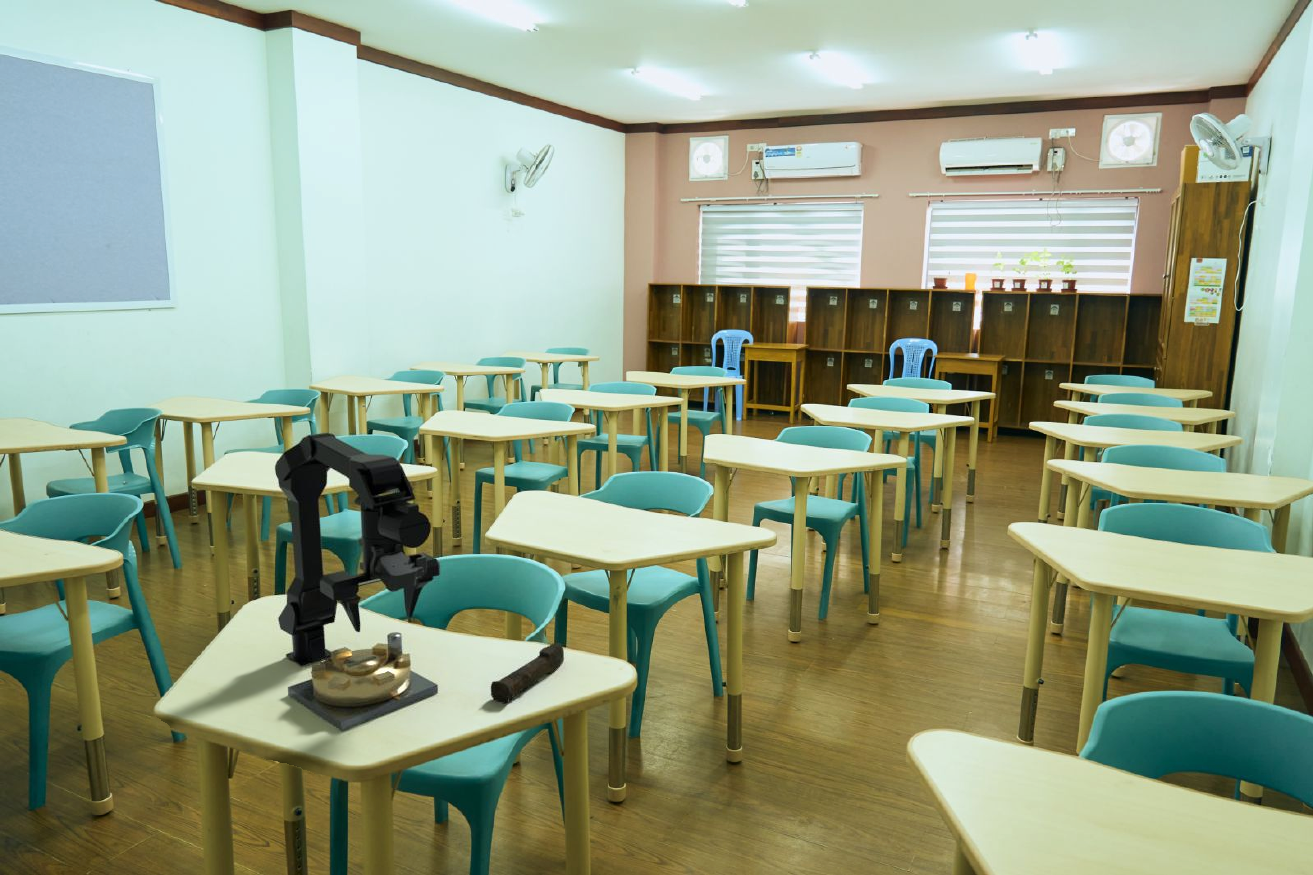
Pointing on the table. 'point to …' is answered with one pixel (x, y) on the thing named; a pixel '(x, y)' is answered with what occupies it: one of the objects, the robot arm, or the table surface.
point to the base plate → (360, 714)
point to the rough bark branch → (528, 673)
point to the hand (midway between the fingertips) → (384, 624)
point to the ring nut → (363, 674)
